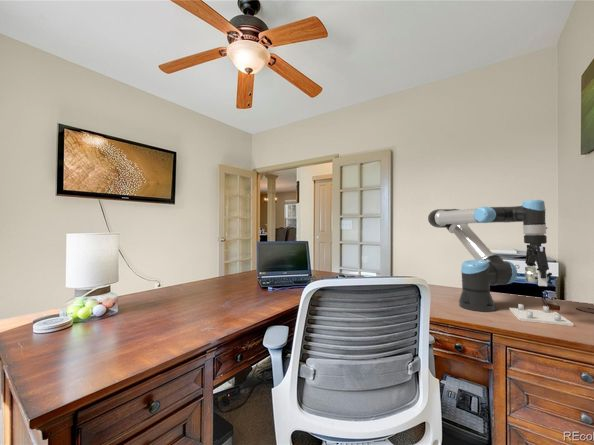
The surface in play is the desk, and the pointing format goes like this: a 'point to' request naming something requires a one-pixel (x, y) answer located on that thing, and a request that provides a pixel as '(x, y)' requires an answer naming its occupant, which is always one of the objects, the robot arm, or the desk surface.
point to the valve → (535, 275)
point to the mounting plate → (539, 315)
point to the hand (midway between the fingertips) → (537, 282)
